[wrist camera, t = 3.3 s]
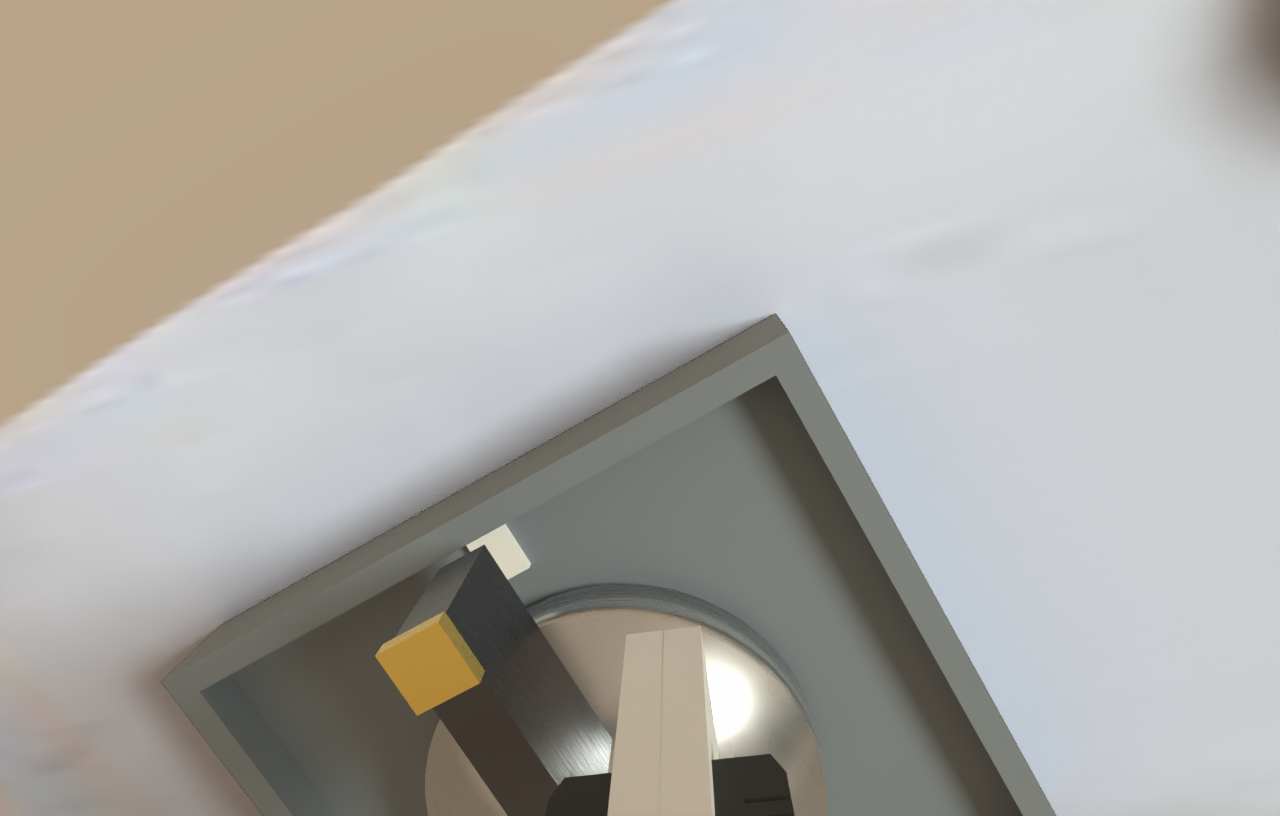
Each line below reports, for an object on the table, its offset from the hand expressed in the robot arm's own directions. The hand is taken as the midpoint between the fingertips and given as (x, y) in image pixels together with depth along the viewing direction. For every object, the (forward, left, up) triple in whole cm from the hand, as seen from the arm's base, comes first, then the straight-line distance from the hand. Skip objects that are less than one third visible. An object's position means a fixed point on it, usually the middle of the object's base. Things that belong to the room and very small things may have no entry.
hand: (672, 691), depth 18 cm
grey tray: (-5, +4, -9) cm, 11 cm away
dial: (-3, +4, -7) cm, 9 cm away
